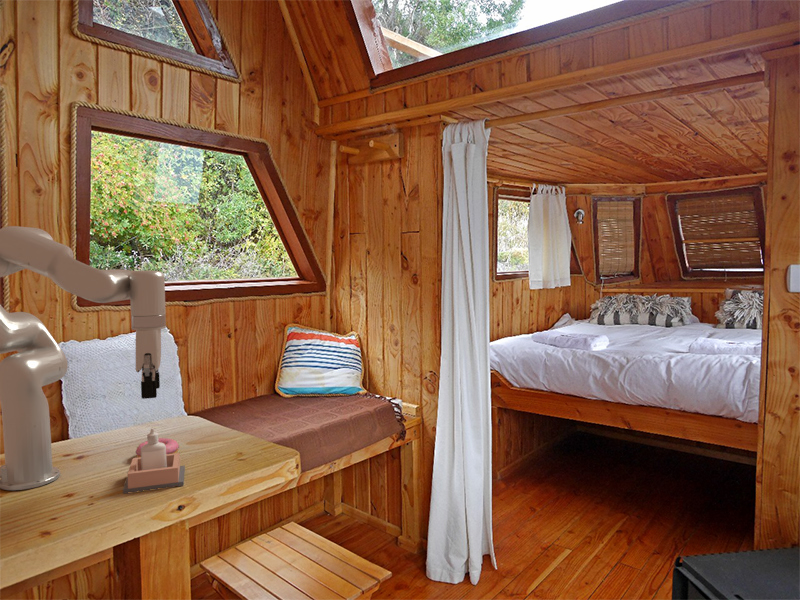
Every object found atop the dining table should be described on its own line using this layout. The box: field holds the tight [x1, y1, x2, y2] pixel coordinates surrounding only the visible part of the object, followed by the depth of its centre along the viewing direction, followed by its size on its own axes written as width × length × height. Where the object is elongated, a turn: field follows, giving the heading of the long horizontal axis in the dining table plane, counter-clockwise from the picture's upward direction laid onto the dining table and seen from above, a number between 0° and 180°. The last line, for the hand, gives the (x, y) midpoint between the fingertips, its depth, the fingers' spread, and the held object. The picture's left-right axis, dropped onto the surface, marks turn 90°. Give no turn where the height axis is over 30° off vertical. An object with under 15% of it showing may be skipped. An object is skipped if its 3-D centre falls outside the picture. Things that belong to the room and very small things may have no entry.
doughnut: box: [135, 437, 180, 458], centre depth 153 cm, size 11×11×4 cm
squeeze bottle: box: [141, 427, 167, 470], centre depth 135 cm, size 4×6×12 cm
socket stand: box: [122, 452, 186, 494], centre depth 136 cm, size 13×11×4 cm
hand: (151, 393), depth 134 cm, fingers open, 9 cm apart
